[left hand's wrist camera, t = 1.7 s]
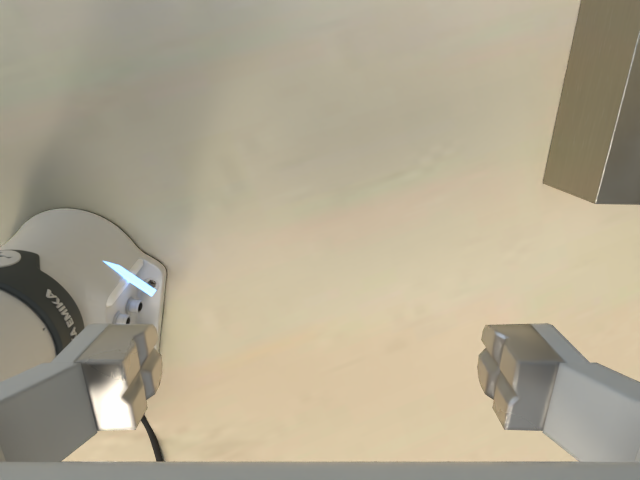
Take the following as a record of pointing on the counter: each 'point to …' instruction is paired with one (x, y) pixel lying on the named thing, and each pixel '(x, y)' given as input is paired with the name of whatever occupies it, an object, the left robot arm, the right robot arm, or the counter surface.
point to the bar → (600, 107)
